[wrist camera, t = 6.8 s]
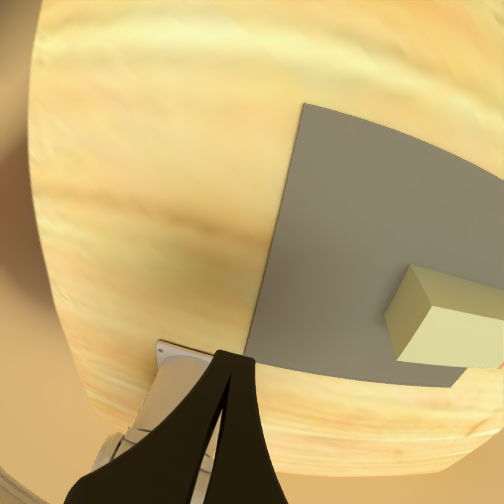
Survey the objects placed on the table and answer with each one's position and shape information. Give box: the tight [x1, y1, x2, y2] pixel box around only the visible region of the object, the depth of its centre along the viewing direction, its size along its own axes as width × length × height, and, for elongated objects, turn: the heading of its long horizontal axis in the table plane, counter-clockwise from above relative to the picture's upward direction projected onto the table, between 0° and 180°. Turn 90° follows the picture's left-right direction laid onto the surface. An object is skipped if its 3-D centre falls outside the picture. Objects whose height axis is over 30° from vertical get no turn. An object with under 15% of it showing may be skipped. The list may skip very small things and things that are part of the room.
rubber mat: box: [244, 103, 504, 388], centre depth 19 cm, size 20×22×1 cm
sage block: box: [384, 264, 504, 369], centre depth 17 cm, size 4×4×11 cm
